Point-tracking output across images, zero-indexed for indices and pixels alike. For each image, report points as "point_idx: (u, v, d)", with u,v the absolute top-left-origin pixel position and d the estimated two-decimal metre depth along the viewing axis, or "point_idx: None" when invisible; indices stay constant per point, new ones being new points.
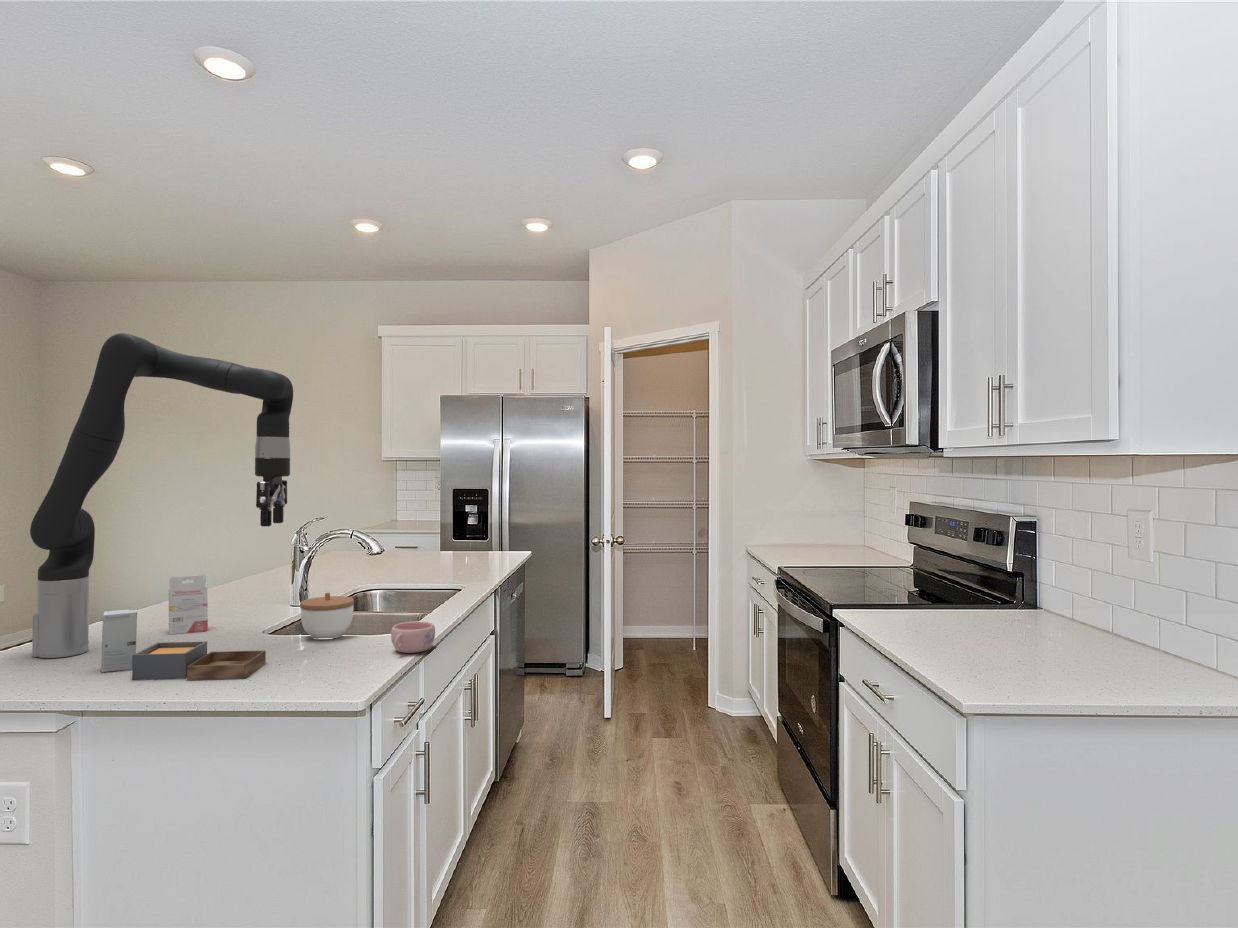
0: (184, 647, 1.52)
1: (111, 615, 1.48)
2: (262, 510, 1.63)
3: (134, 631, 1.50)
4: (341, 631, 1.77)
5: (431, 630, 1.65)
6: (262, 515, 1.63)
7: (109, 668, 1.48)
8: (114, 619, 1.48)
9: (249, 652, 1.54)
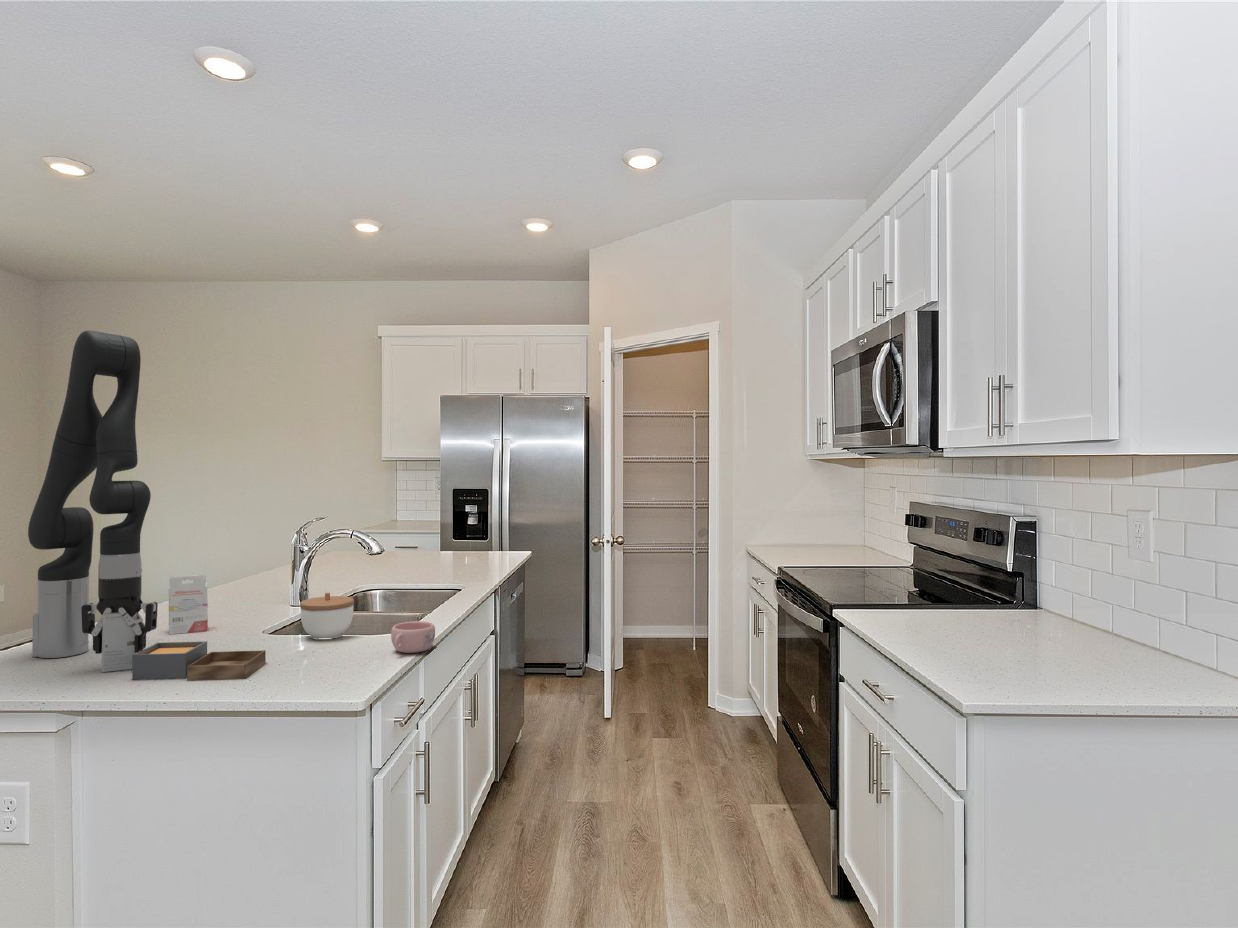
0: (184, 647, 1.52)
1: (111, 615, 1.48)
2: (143, 634, 1.51)
3: None
4: (341, 631, 1.77)
5: (431, 630, 1.65)
6: (143, 640, 1.51)
7: (109, 668, 1.48)
8: (114, 619, 1.48)
9: (249, 652, 1.54)
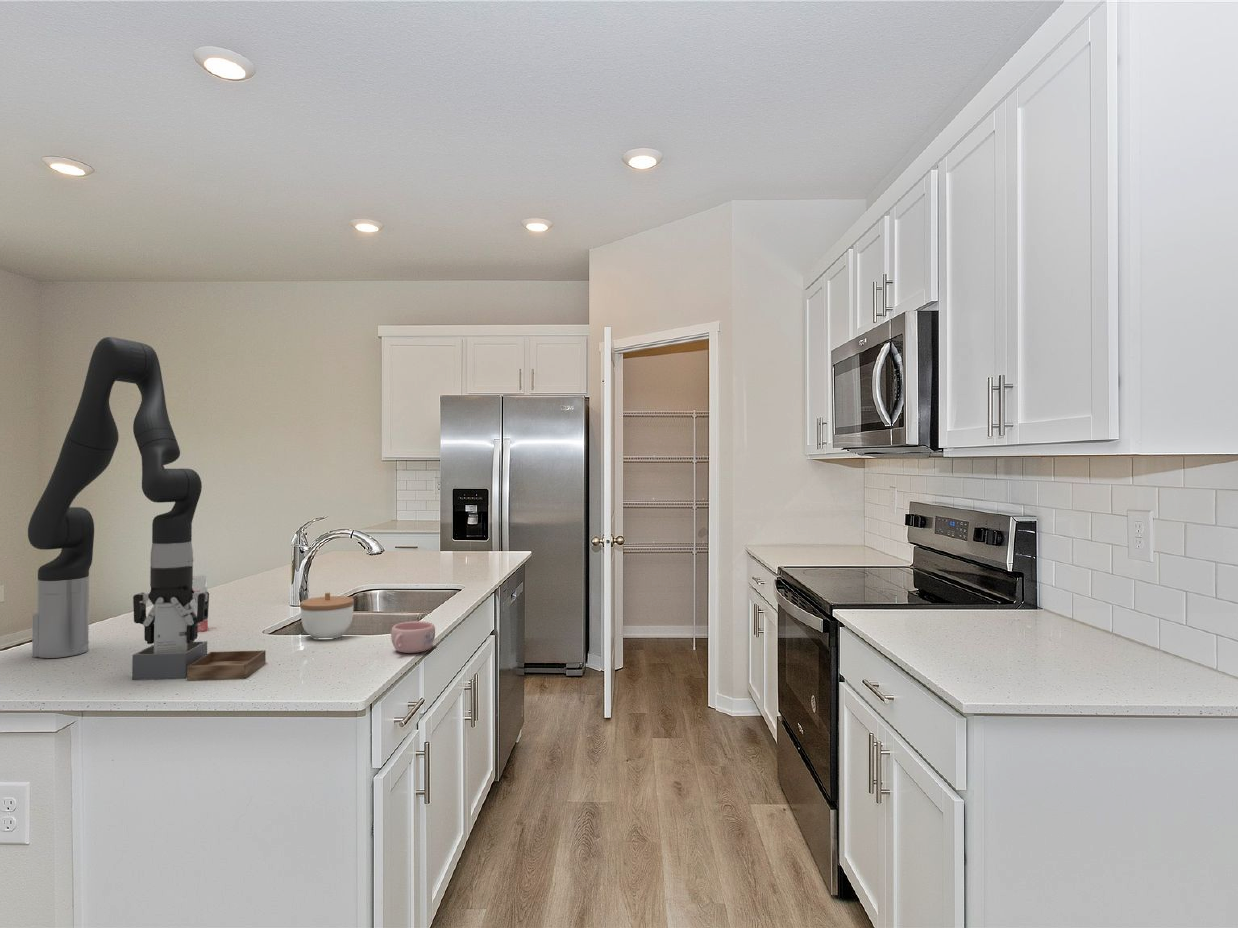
0: None
1: (163, 605, 1.46)
2: (195, 624, 1.48)
3: None
4: (341, 631, 1.77)
5: (431, 630, 1.65)
6: (195, 630, 1.48)
7: None
8: (167, 609, 1.46)
9: (249, 652, 1.54)
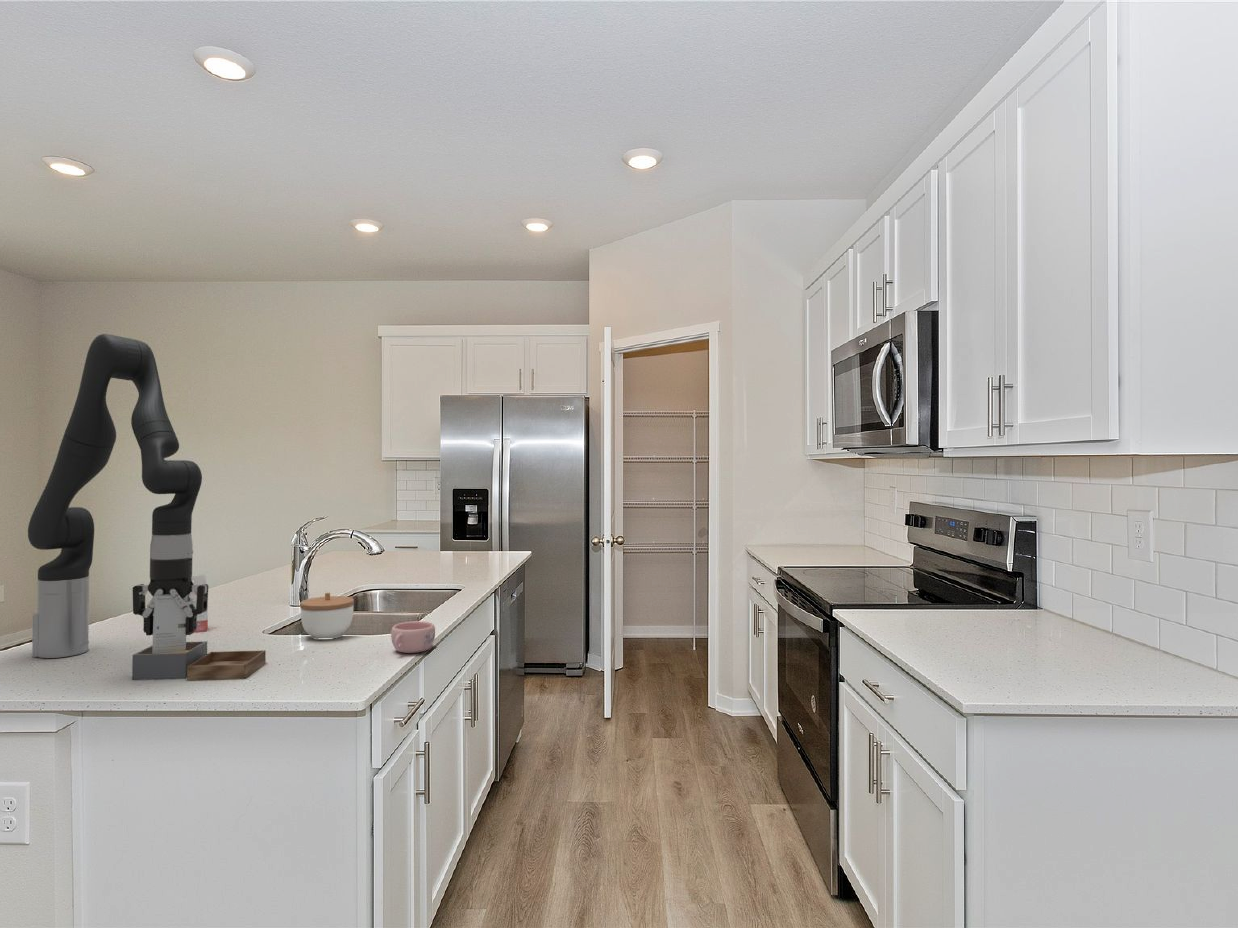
0: None
1: (162, 597, 1.46)
2: (194, 616, 1.48)
3: (185, 613, 1.48)
4: (341, 631, 1.77)
5: (431, 630, 1.65)
6: (194, 622, 1.48)
7: (160, 650, 1.45)
8: (166, 601, 1.46)
9: (249, 652, 1.54)
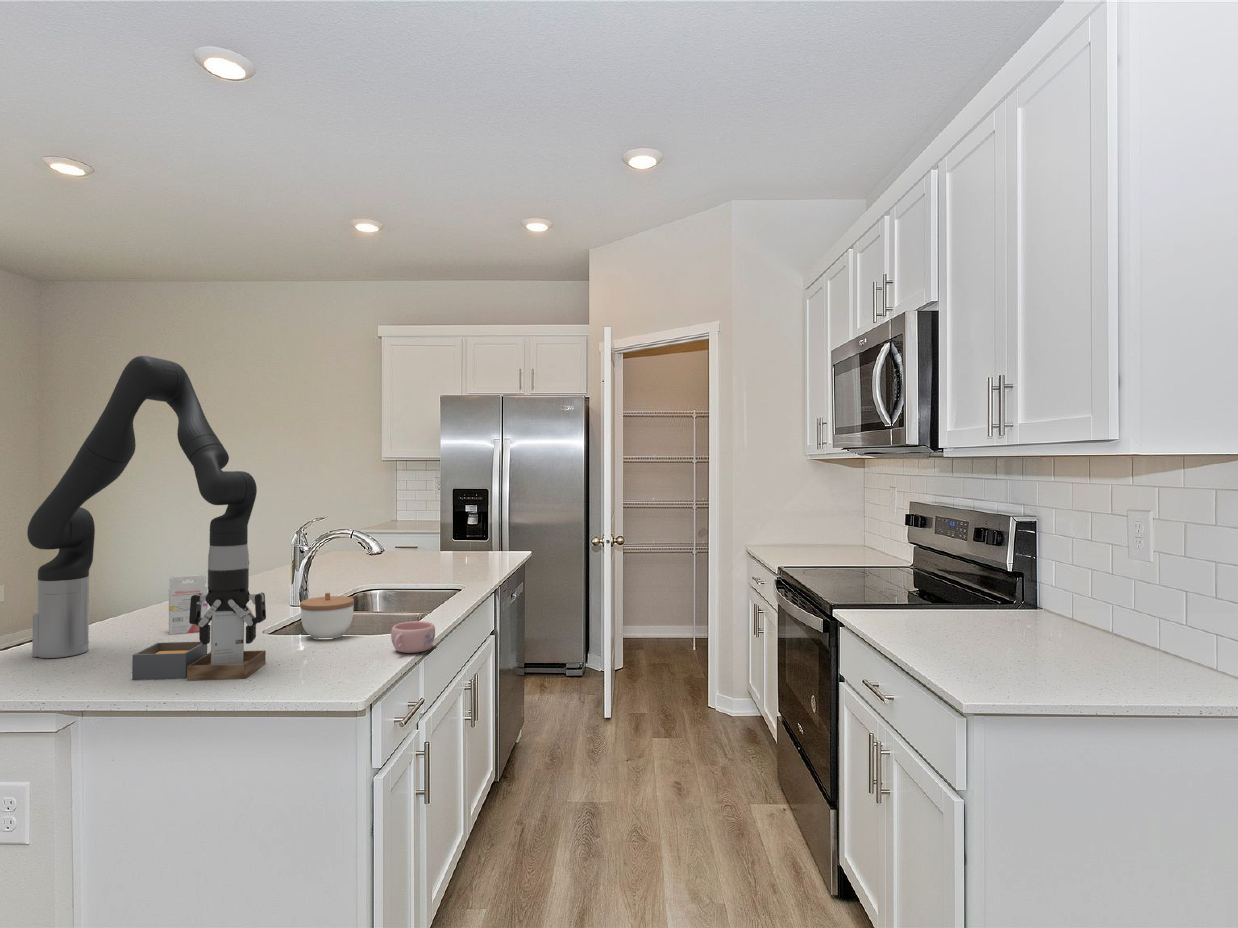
0: (184, 650, 1.52)
1: (220, 613, 1.47)
2: (254, 625, 1.49)
3: (242, 629, 1.49)
4: (341, 631, 1.77)
5: (431, 630, 1.65)
6: (253, 630, 1.49)
7: None
8: (223, 617, 1.47)
9: (249, 652, 1.54)
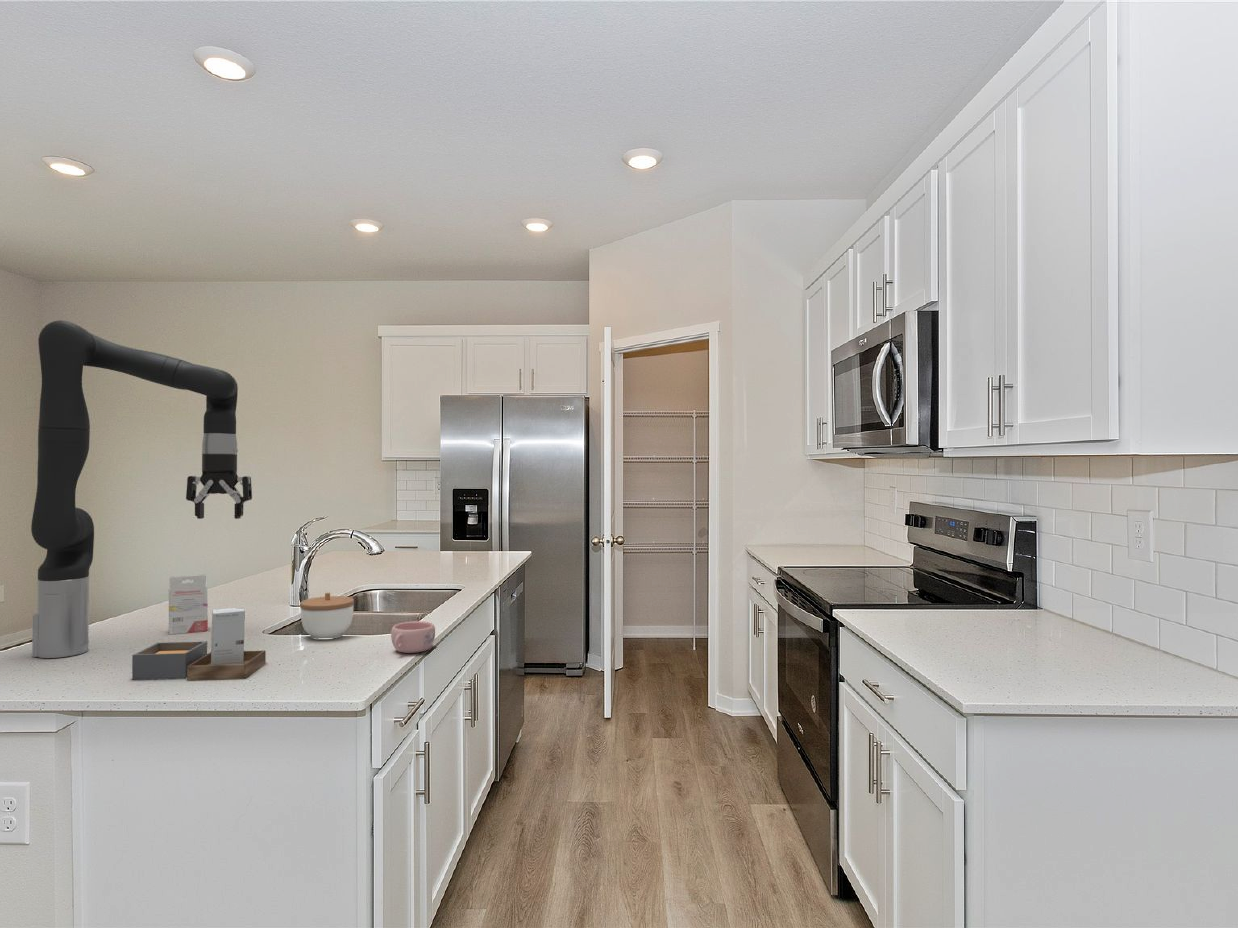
0: (184, 650, 1.52)
1: (220, 614, 1.46)
2: (242, 503, 1.74)
3: (242, 630, 1.48)
4: (341, 631, 1.77)
5: (431, 630, 1.65)
6: (241, 508, 1.74)
7: None
8: (224, 618, 1.47)
9: (249, 652, 1.54)
